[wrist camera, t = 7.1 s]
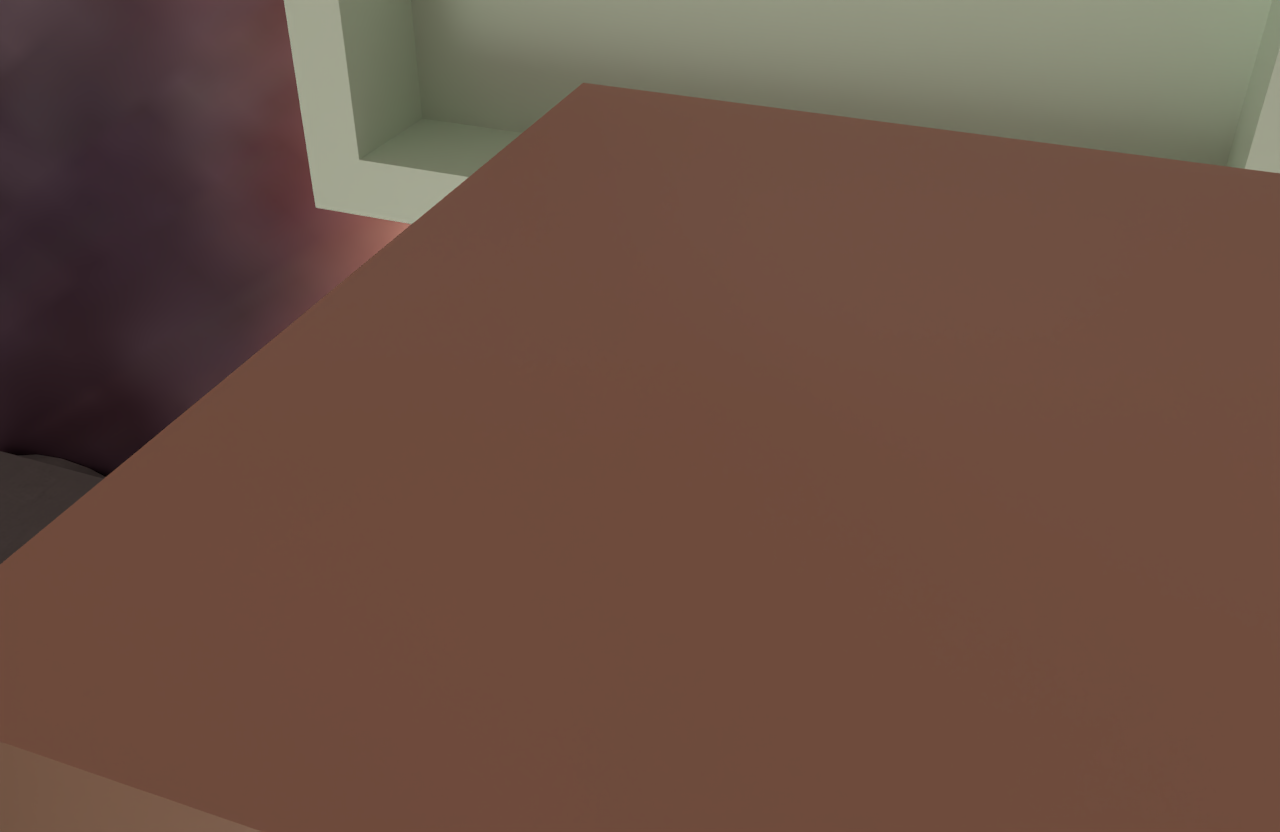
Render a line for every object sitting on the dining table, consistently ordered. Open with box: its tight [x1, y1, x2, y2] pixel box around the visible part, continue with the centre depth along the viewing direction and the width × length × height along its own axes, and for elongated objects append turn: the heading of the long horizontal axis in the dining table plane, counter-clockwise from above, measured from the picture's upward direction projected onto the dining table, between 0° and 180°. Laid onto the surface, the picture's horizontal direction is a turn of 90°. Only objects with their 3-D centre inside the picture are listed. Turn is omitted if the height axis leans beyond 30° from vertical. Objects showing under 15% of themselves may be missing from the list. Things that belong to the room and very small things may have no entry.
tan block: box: [0, 83, 1280, 832], centre depth 7 cm, size 4×4×6 cm
